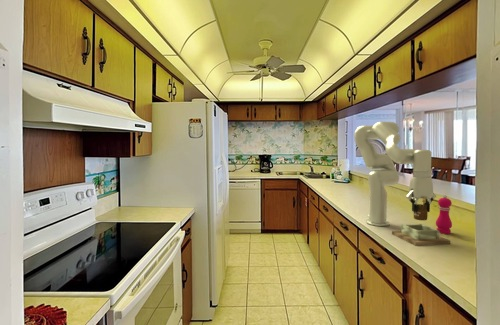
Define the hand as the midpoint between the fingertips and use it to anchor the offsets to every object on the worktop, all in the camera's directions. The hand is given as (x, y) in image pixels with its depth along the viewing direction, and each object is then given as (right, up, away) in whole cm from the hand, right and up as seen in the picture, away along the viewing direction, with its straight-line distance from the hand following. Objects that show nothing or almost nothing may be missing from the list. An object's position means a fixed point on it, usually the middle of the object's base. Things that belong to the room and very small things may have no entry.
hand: (420, 211), depth 147 cm
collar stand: (0, -14, +1) cm, 14 cm away
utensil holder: (0, -4, 0) cm, 4 cm away
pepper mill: (+19, -13, +12) cm, 26 cm away
